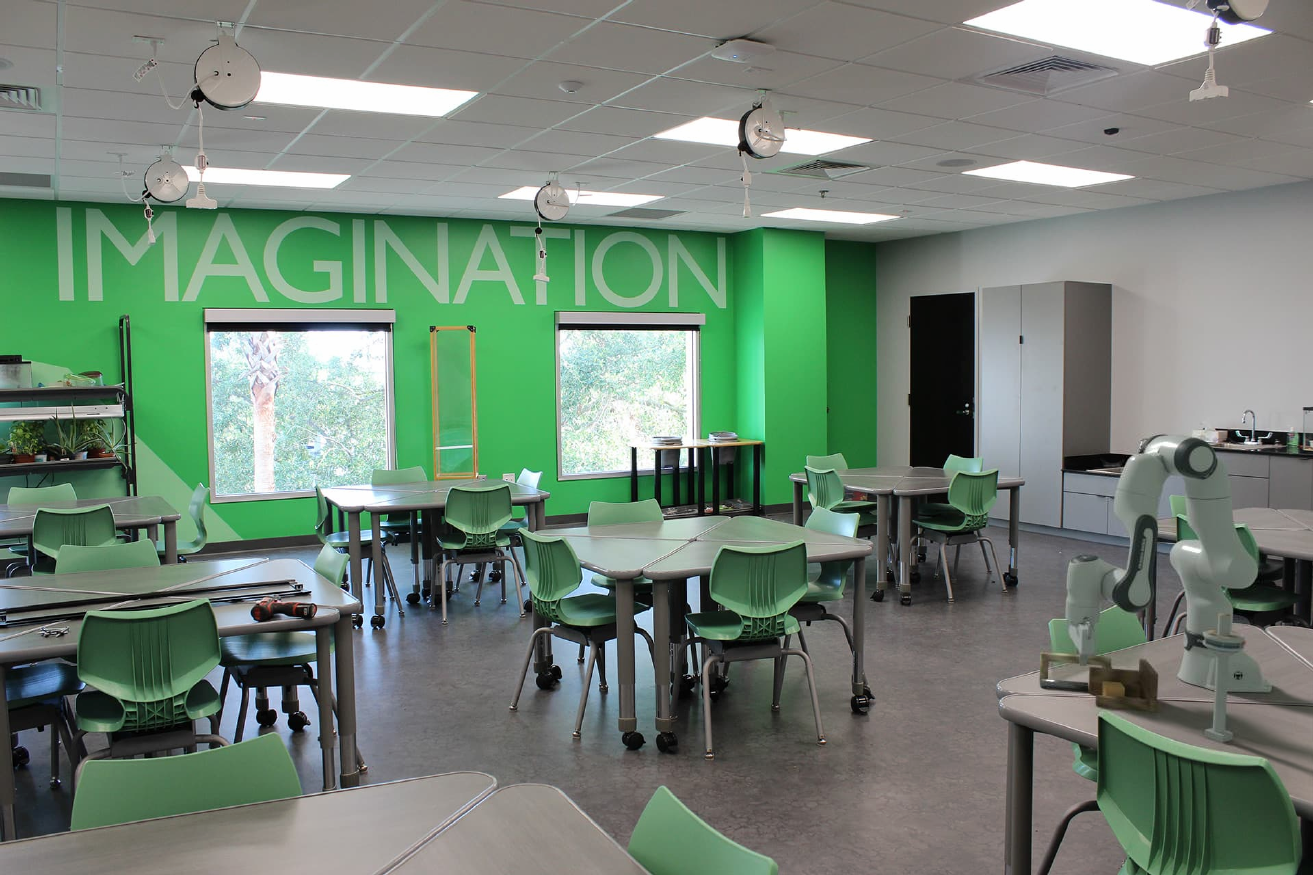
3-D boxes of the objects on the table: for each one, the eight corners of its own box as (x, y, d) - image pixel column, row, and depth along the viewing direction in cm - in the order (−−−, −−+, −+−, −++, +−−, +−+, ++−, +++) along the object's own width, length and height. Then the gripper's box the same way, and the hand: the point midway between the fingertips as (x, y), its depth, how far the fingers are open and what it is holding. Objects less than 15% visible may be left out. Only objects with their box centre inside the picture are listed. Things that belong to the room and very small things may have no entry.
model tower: (1212, 728, 231) (1217, 608, 229) (1246, 740, 224) (1253, 616, 222) (1190, 735, 227) (1196, 612, 225) (1225, 747, 220) (1231, 620, 218)
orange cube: (1120, 698, 252) (1120, 682, 252) (1124, 704, 248) (1124, 687, 248) (1101, 697, 253) (1102, 680, 253) (1105, 703, 249) (1106, 686, 249)
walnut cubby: (1144, 695, 255) (1145, 658, 254) (1156, 712, 242) (1158, 674, 241) (1087, 690, 258) (1089, 654, 257) (1097, 707, 246) (1098, 669, 245)
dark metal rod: (1086, 688, 260) (1087, 680, 259) (1088, 693, 258) (1088, 684, 257) (1039, 685, 263) (1040, 677, 262) (1041, 689, 261) (1041, 681, 260)
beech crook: (1107, 682, 265) (1108, 654, 264) (1111, 689, 259) (1112, 661, 258) (1038, 677, 269) (1039, 649, 269) (1041, 684, 263) (1042, 655, 263)
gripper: (1102, 624, 251) (1100, 675, 252) (1088, 605, 271) (1086, 652, 272) (1077, 622, 253) (1075, 673, 254) (1064, 603, 273) (1062, 650, 274)
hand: (1081, 662), depth 263 cm, fingers open, 3 cm apart
